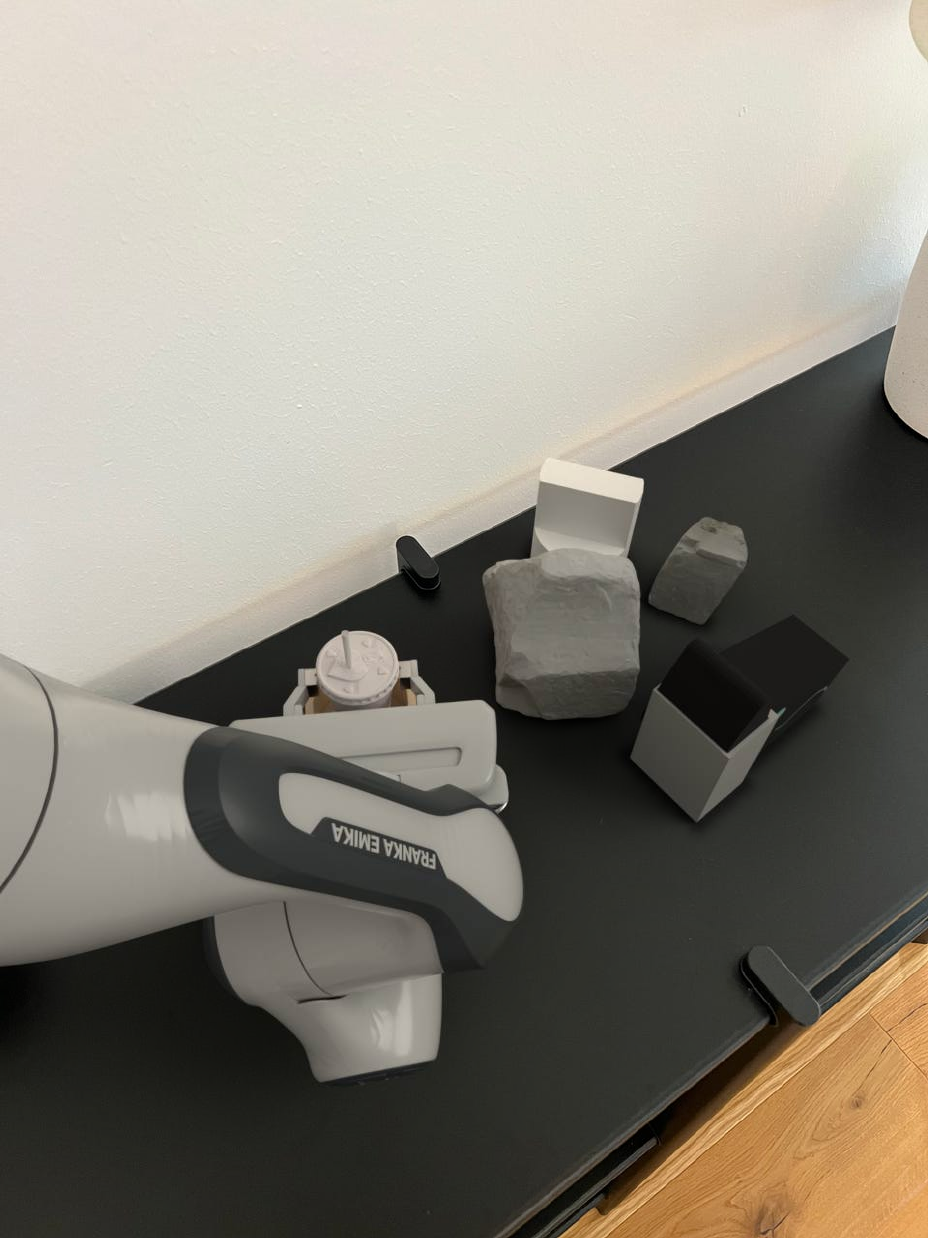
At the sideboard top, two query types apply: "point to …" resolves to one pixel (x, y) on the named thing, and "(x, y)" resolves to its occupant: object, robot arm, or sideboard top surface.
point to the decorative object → (729, 709)
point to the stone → (565, 633)
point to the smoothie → (357, 671)
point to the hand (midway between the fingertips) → (358, 668)
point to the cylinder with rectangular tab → (585, 509)
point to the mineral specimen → (700, 570)
